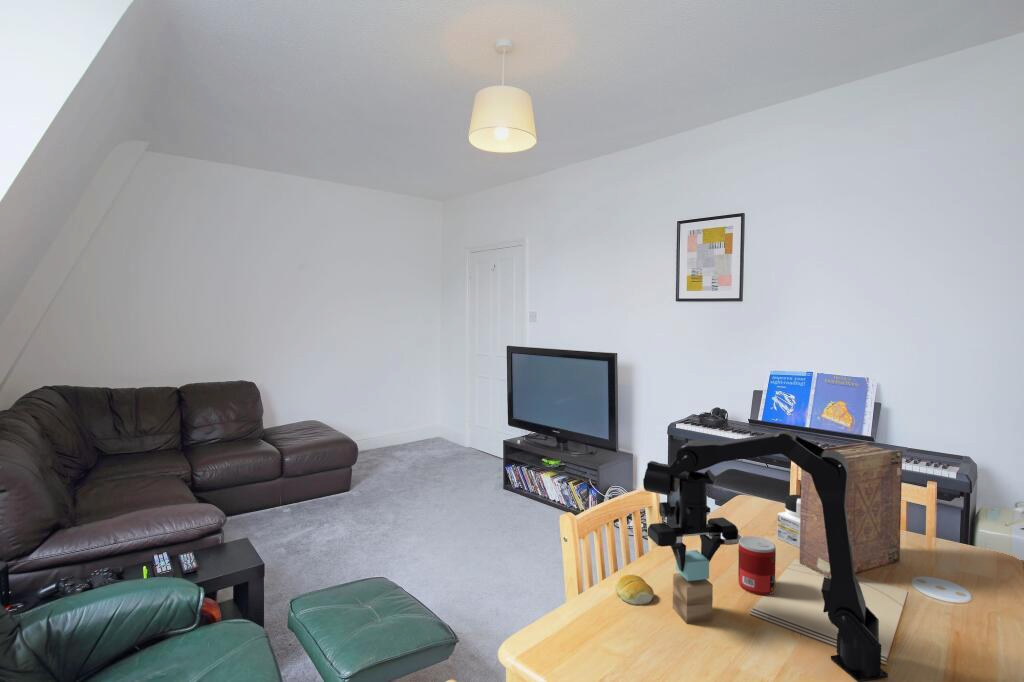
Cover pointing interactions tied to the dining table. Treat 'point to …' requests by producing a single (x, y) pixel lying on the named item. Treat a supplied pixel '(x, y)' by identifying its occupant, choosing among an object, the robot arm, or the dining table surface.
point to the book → (857, 510)
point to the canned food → (756, 565)
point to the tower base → (692, 611)
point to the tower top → (692, 590)
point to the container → (790, 521)
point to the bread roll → (634, 590)
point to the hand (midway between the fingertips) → (692, 569)
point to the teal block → (695, 566)
